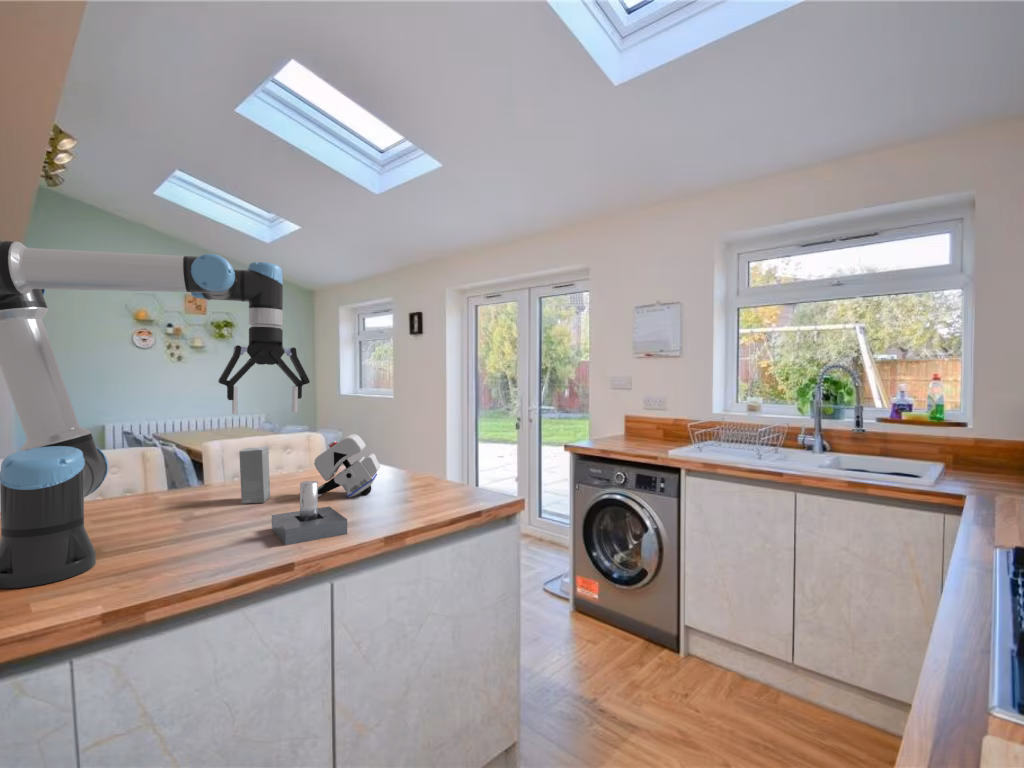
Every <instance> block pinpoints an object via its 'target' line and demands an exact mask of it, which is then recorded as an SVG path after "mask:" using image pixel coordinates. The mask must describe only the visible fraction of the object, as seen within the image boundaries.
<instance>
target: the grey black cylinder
mask: <svg viewBox="0 0 1024 768" xmlns="http://www.w3.org/2000/svg"><path fill="white" fill-rule="evenodd" d="M318 483H319V482H318V481H317V480H305V481H301V482H300V483H299V511H300V522H303V521H309V520H316V519H318V508H319V507H318V506H319V505H318V502H319V500H318V498H319V497H318V487H319V485H318Z"/></svg>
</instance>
